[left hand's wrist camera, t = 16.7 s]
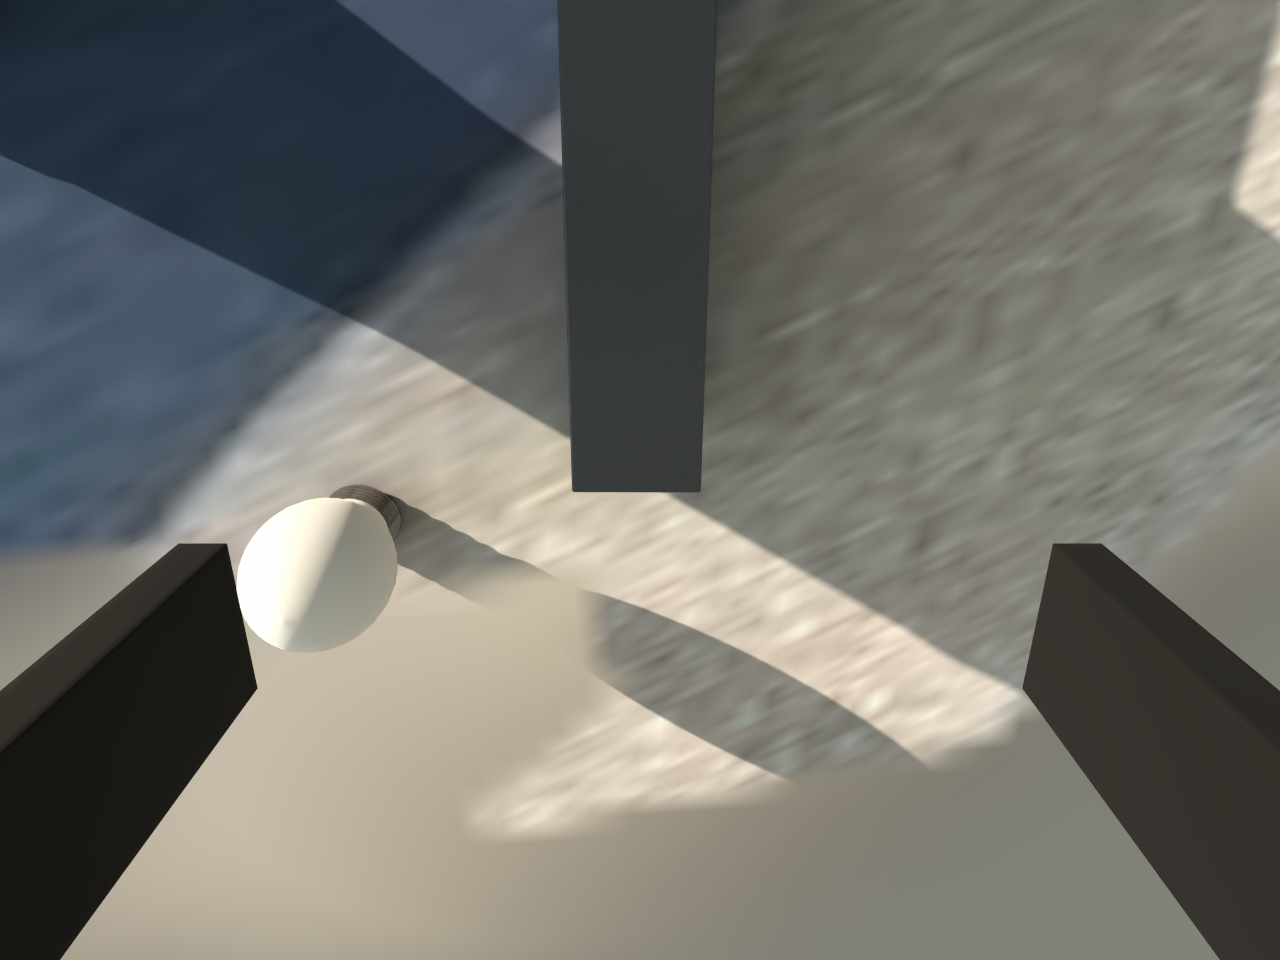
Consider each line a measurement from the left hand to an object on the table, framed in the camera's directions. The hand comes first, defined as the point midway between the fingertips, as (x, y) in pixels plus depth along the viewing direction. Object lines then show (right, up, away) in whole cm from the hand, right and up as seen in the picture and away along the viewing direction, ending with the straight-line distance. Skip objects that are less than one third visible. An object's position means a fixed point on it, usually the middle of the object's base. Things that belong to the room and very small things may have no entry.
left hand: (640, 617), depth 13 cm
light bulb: (-15, 0, +31) cm, 34 cm away
